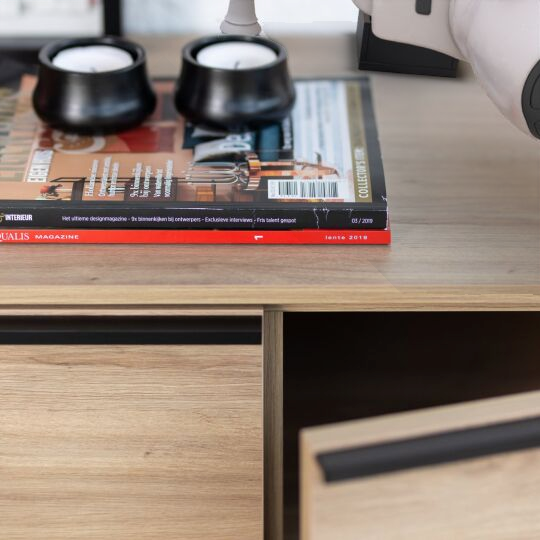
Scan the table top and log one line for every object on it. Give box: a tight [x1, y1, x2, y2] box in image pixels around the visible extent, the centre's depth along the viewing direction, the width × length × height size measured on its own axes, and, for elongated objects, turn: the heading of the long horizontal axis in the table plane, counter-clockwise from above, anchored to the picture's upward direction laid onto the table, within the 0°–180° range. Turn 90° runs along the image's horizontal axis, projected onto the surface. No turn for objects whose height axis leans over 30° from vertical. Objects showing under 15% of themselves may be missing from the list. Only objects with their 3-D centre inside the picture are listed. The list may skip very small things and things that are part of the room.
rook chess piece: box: [218, 0, 262, 38], centre depth 96 cm, size 4×4×8 cm
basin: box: [355, 9, 460, 78], centre depth 97 cm, size 10×10×5 cm
